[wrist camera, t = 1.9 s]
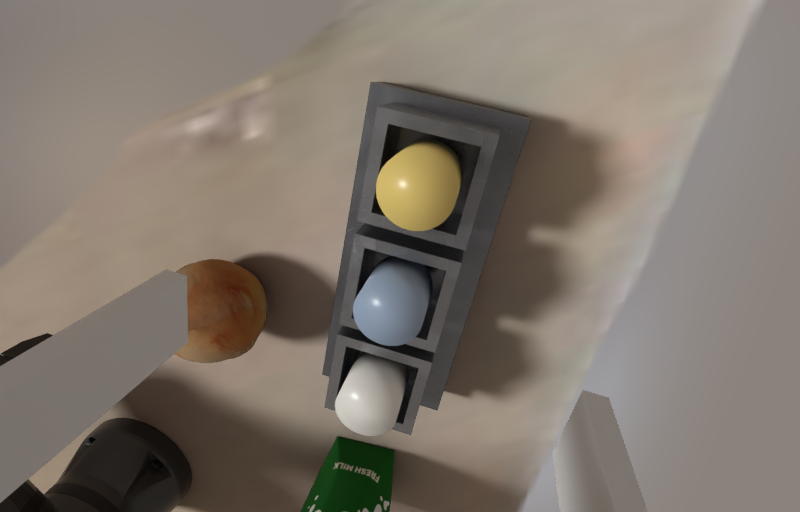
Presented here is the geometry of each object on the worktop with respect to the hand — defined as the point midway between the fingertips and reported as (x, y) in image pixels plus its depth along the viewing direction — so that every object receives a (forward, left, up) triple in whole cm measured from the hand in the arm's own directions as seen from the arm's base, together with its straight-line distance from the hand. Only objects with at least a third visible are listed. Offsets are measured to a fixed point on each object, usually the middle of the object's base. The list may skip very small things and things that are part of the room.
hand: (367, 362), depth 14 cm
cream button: (-1, -16, -19) cm, 25 cm away
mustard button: (-1, +2, -19) cm, 19 cm away
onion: (-18, -16, -26) cm, 35 cm away
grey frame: (-1, -7, -25) cm, 26 cm away
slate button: (-1, -7, -19) cm, 21 cm away
